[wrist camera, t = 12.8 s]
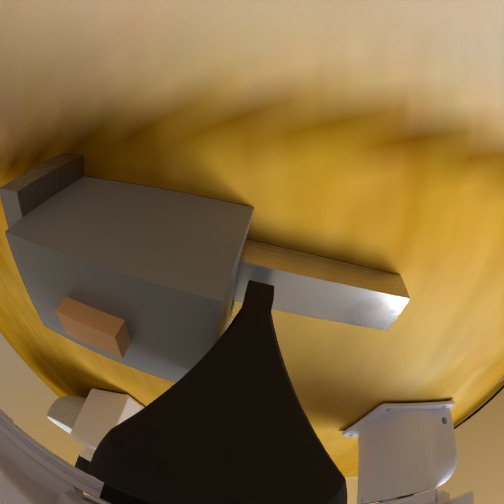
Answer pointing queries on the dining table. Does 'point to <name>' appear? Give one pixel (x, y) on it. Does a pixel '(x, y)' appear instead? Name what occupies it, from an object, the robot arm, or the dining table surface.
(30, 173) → the rail
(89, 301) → the block
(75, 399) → the cereal bowl
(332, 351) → the dining table surface
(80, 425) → the container
